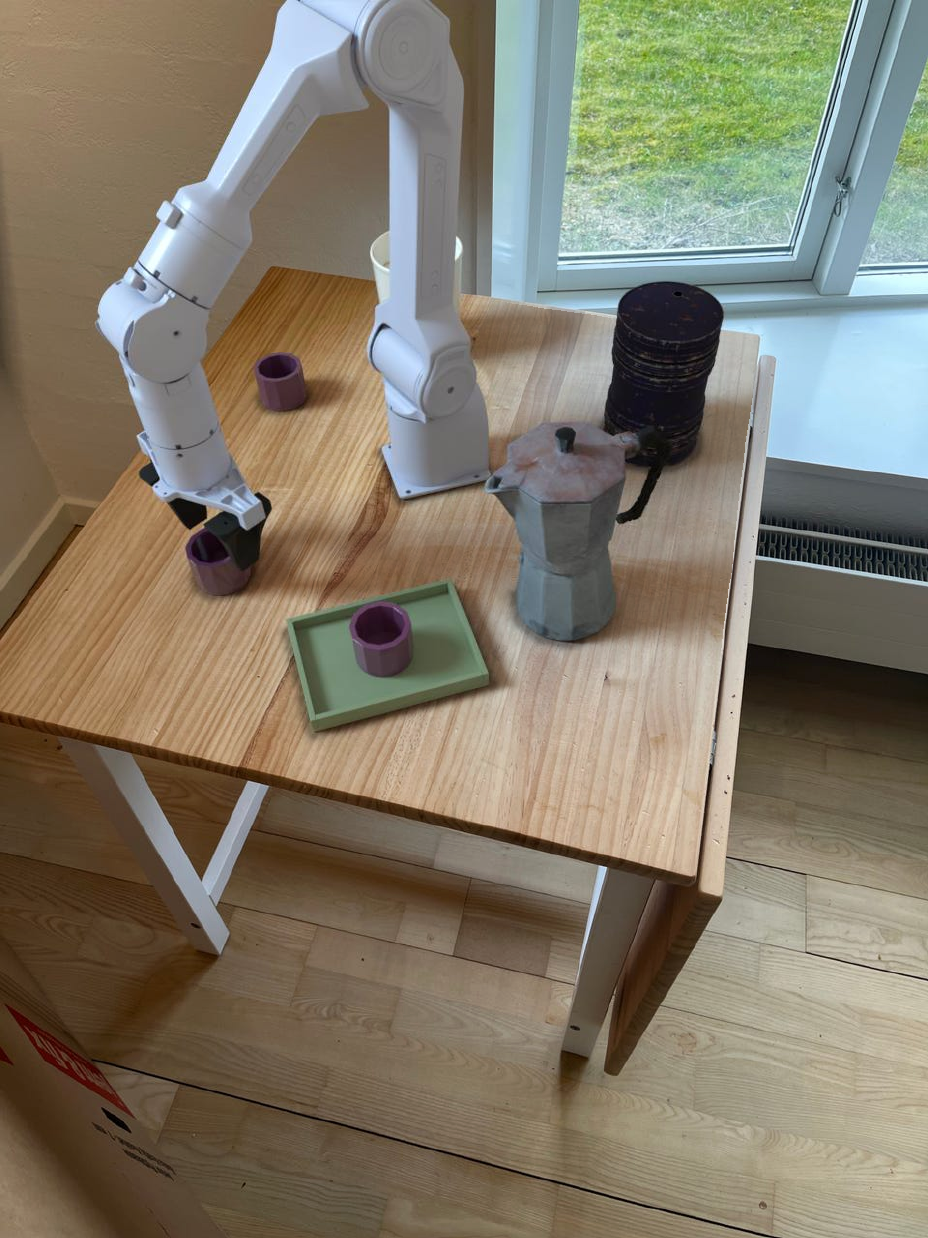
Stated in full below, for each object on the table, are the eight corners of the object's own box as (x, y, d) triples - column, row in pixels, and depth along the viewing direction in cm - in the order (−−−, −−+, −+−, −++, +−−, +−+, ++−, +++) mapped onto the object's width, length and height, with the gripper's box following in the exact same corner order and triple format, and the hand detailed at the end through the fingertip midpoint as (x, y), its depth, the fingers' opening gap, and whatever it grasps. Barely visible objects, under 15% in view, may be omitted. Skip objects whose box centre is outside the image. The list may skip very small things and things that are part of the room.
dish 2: (405, 624, 83) (401, 595, 80) (420, 668, 80) (417, 640, 77) (349, 639, 82) (343, 610, 79) (362, 684, 79) (357, 655, 76)
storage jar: (684, 479, 94) (711, 352, 83) (589, 455, 97) (603, 329, 85) (707, 418, 100) (735, 291, 88) (617, 397, 102) (633, 272, 91)
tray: (451, 590, 86) (451, 577, 85) (489, 685, 79) (489, 673, 78) (288, 631, 84) (285, 618, 82) (313, 732, 77) (310, 721, 76)
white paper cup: (384, 320, 112) (374, 224, 103) (467, 320, 112) (464, 223, 103) (377, 371, 106) (365, 274, 97) (464, 371, 106) (461, 273, 97)
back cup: (302, 378, 106) (296, 348, 103) (310, 405, 103) (305, 375, 100) (257, 387, 105) (250, 357, 102) (265, 415, 102) (258, 385, 99)
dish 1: (246, 549, 90) (237, 520, 87) (254, 588, 87) (246, 558, 84) (193, 562, 89) (182, 532, 86) (200, 601, 86) (189, 572, 83)
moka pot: (467, 591, 86) (461, 416, 70) (617, 539, 89) (643, 362, 74) (512, 669, 80) (516, 498, 65) (669, 610, 84) (710, 435, 68)
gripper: (88, 412, 77) (138, 528, 87) (198, 494, 70) (237, 609, 81) (159, 370, 80) (200, 488, 91) (270, 446, 74) (300, 563, 84)
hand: (222, 542), depth 86 cm, fingers open, 7 cm apart
